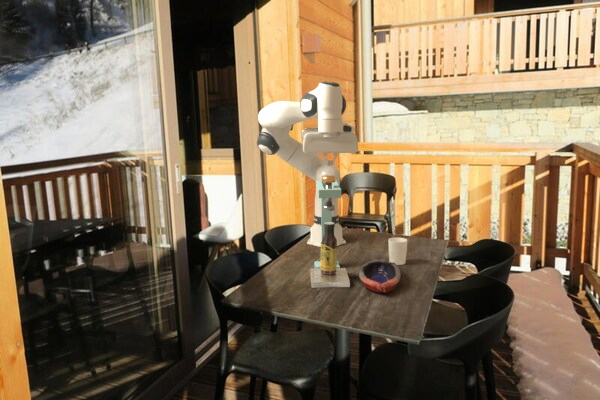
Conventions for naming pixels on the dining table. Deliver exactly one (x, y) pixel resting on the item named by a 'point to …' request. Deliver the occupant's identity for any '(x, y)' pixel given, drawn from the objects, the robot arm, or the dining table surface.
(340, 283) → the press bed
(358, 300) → the dining table surface
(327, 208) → the ram
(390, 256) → the white cup
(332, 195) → the press frame
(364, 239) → the dining table surface
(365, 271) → the dish
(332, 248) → the sauce bottle
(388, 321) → the dining table surface
